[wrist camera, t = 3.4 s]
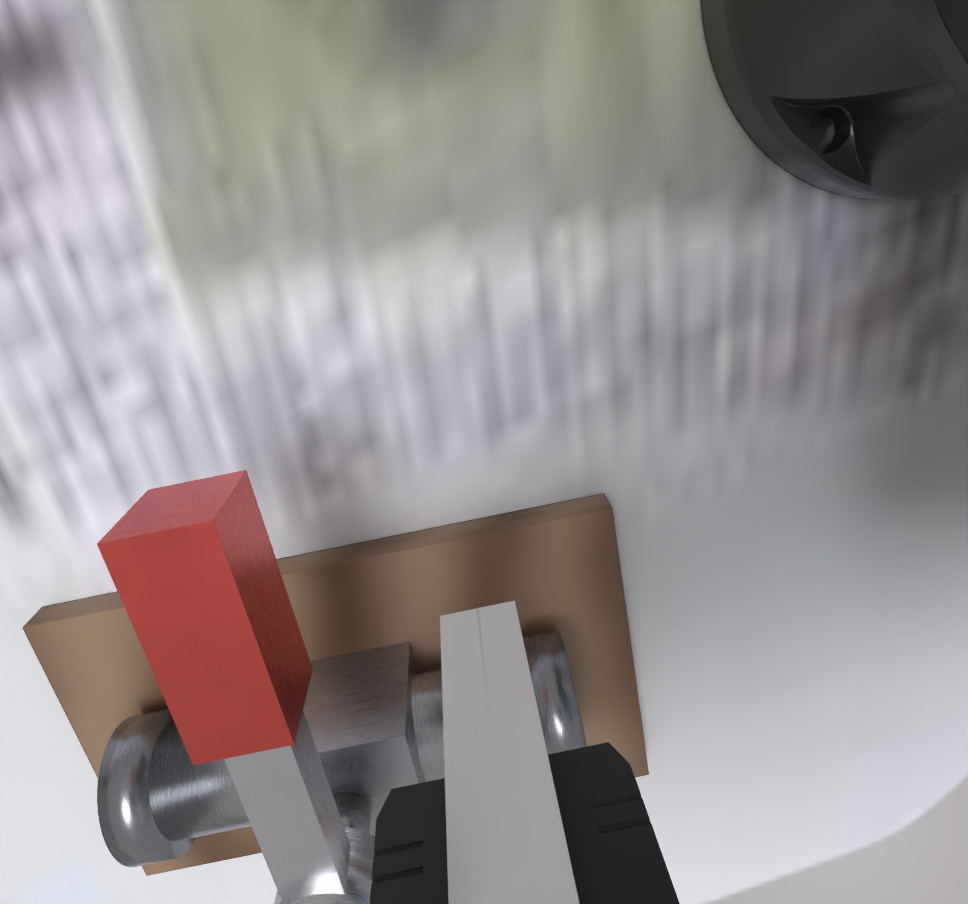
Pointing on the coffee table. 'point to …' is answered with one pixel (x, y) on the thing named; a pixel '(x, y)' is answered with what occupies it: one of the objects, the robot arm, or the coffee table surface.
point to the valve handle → (237, 673)
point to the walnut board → (388, 625)
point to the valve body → (338, 739)
